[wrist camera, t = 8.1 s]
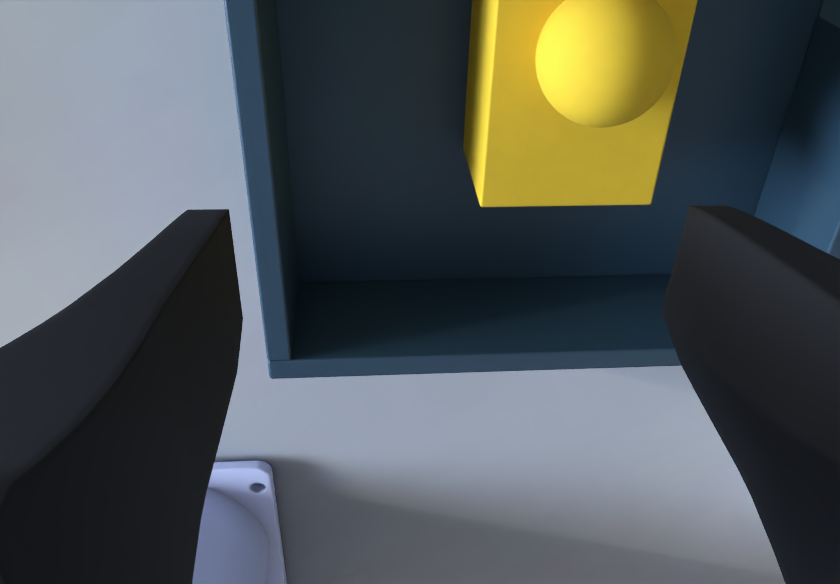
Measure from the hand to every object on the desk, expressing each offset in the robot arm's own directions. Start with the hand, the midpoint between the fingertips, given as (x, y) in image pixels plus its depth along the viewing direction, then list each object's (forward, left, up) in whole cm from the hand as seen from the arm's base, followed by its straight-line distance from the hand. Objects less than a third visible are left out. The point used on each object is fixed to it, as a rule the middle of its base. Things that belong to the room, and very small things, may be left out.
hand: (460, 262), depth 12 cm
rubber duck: (+1, -3, -8) cm, 9 cm away
